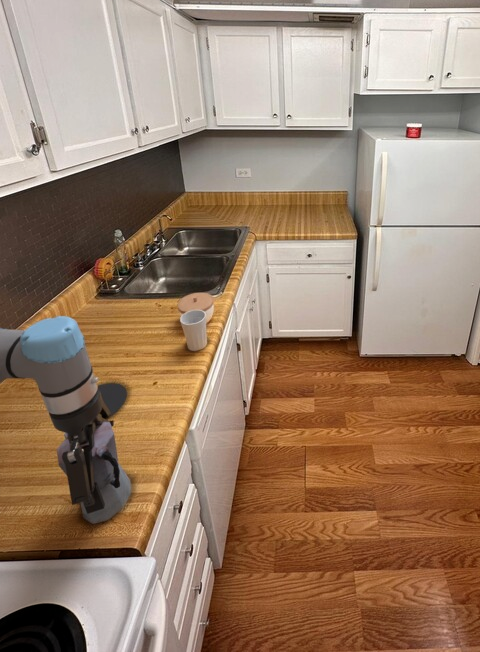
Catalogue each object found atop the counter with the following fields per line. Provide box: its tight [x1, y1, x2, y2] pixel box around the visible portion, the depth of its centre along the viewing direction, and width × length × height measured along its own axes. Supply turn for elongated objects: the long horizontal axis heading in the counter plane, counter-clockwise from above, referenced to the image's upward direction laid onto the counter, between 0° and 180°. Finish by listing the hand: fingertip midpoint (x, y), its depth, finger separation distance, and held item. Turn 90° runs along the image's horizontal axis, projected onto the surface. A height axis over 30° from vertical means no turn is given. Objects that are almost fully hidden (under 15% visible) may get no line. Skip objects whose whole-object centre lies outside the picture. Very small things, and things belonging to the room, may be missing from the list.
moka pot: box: [56, 422, 132, 525], centre depth 66 cm, size 10×15×20 cm, turn 69°
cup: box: [179, 310, 208, 352], centre depth 110 cm, size 8×8×12 cm
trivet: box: [98, 382, 128, 417], centre depth 90 cm, size 14×14×1 cm
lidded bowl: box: [177, 292, 215, 324], centre depth 123 cm, size 13×13×11 cm
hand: (103, 479), depth 67 cm, fingers open, 10 cm apart
